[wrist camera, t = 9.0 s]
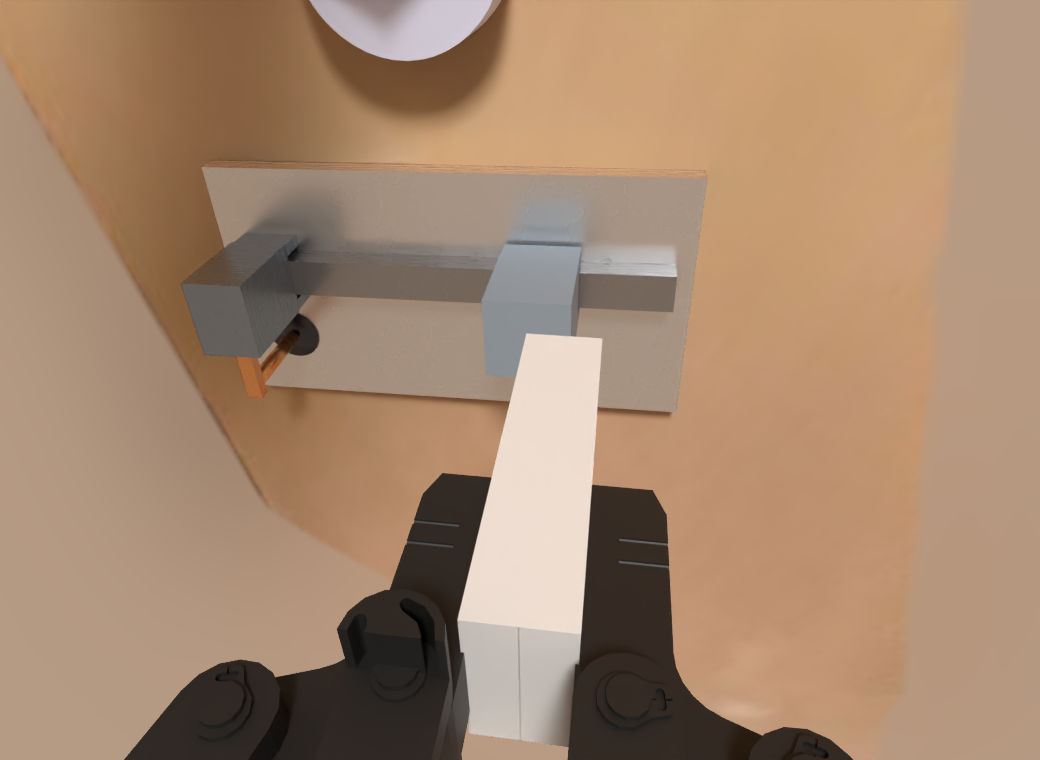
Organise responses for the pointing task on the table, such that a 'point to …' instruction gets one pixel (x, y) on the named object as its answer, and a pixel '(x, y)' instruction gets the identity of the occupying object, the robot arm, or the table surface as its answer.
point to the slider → (528, 301)
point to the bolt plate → (470, 229)
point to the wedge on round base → (405, 24)
